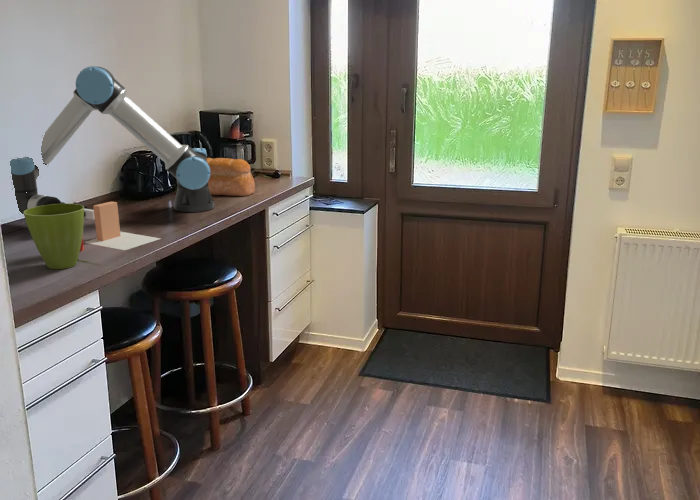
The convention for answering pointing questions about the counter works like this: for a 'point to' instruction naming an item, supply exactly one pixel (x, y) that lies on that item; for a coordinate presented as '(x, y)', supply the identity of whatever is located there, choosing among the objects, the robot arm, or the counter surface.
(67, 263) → the flower pot
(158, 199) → the counter surface
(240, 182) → the bread
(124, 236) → the mat
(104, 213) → the card box
